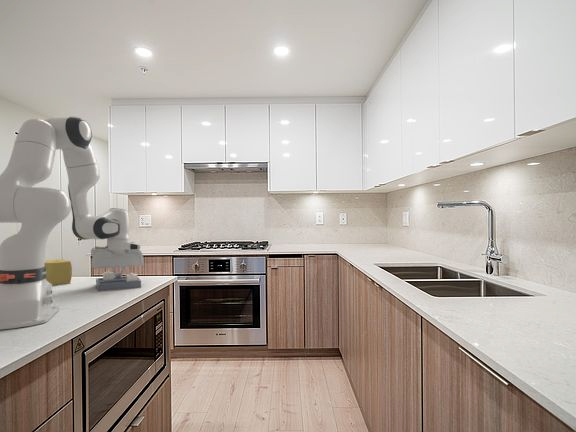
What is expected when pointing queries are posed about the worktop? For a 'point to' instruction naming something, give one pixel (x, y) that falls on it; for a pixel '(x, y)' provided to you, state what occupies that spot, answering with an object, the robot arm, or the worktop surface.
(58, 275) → the cheese
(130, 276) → the tab near
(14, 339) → the worktop surface
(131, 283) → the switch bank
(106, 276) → the tab far
